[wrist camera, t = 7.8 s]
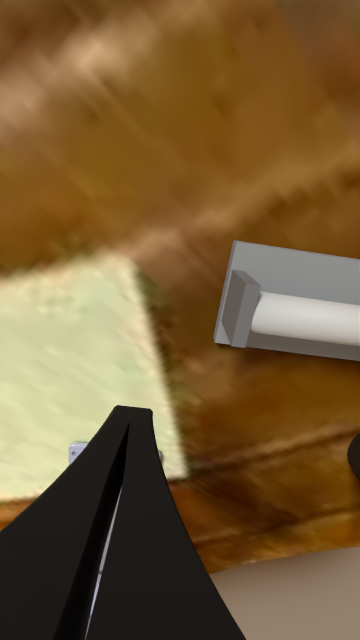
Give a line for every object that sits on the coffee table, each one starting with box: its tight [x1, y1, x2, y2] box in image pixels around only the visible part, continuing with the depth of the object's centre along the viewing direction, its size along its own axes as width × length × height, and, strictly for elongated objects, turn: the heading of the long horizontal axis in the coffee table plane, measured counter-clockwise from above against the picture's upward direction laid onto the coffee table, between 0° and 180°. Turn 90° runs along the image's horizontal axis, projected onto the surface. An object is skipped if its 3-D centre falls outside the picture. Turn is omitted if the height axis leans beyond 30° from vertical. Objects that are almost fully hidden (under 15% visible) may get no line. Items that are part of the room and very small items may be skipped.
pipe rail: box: [213, 240, 360, 361], centre depth 17 cm, size 7×16×5 cm, turn 82°
